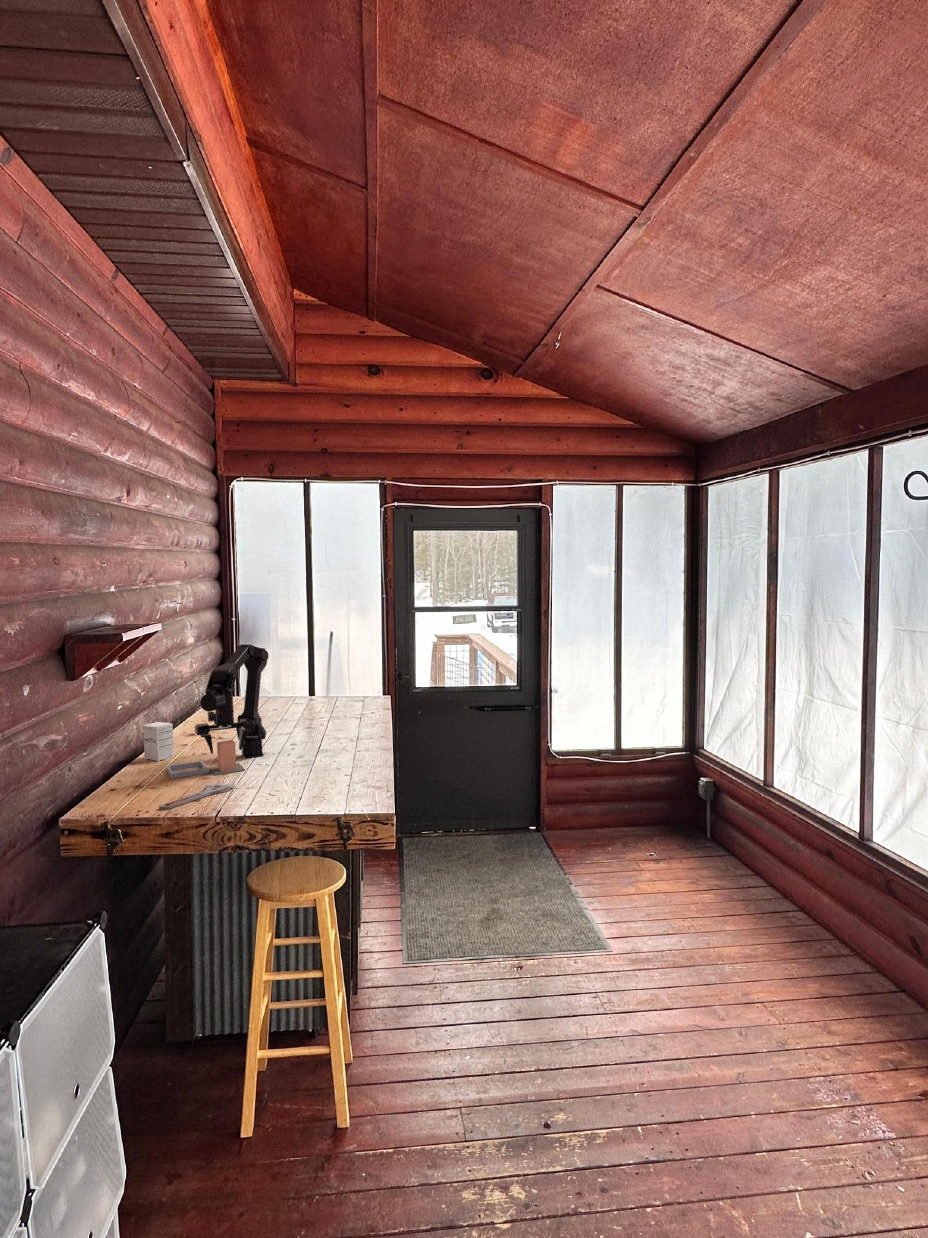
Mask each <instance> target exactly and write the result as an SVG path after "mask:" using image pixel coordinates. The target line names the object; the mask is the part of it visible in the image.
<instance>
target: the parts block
mask: <svg viewBox="0 0 928 1238" xmlns="http://www.w3.org/2000/svg"><path fill="white" fill-rule="evenodd" d="M216 748H217V750H216V751H217V754H216V755H217V766H218V768H219V770H220V771H227V770H234V769H236V764H237V753H236V742H235V741H234V740H233V739H229V740H228V739H227V740H220V741H217V742H216Z"/></svg>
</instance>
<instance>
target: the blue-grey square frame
mask: <svg viewBox="0 0 928 1238" xmlns="http://www.w3.org/2000/svg"><path fill="white" fill-rule="evenodd" d="M197 767H200V768H198V769H191V768H197ZM183 769H190V770H184V771H177V772H173V771H176V770H183ZM166 771H167V774H168V775H169V777H170V779H177V778H185V777H190V776H198V775H203V774H209V767H208V766H207V764H205V763H204V761H203V760H199V761H193V762H184V763H178V764H170V765H166Z"/></svg>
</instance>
